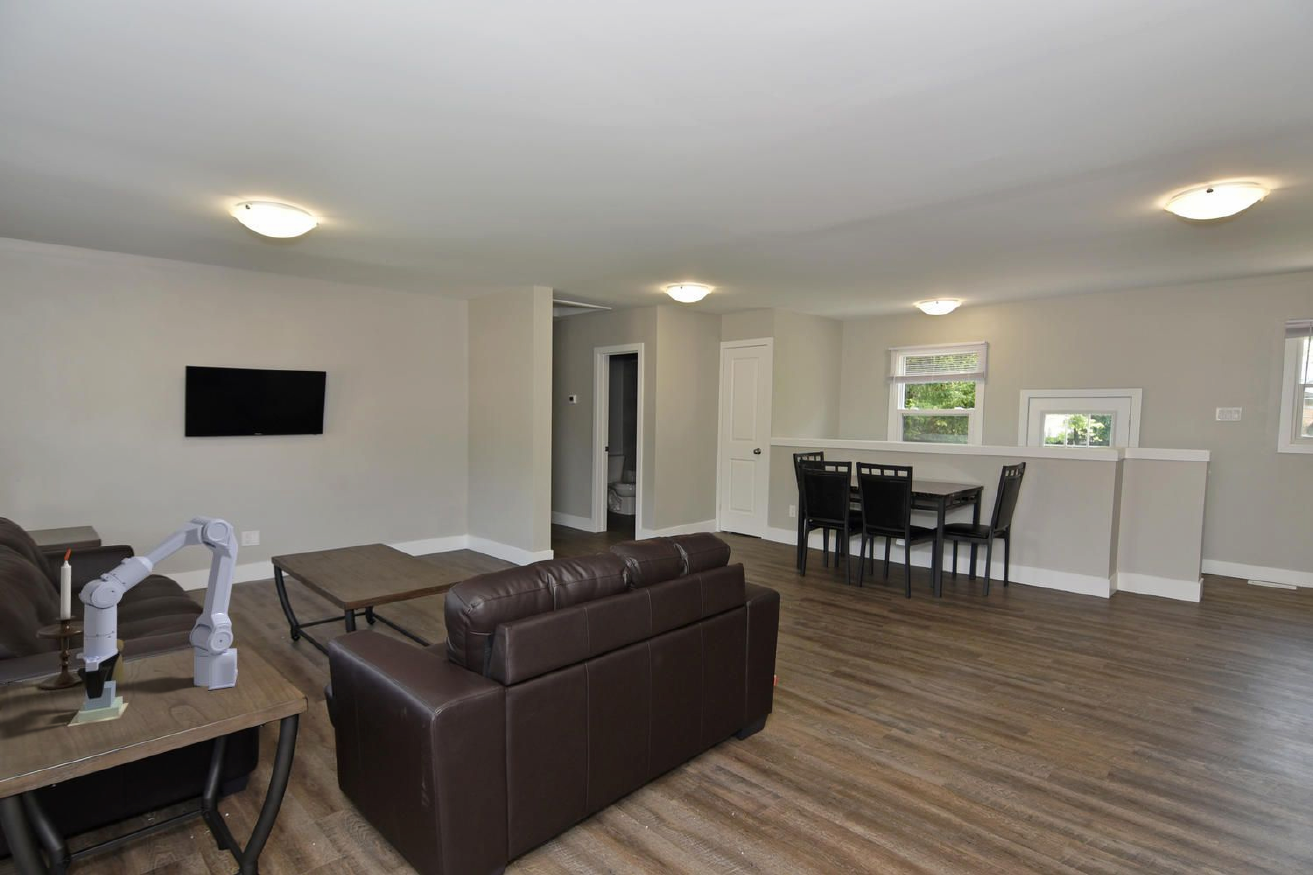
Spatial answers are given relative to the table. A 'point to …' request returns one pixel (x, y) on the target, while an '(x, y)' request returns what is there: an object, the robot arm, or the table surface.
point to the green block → (101, 711)
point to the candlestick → (63, 635)
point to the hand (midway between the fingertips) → (99, 691)
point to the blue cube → (102, 697)
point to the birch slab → (75, 719)
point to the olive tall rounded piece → (119, 665)
